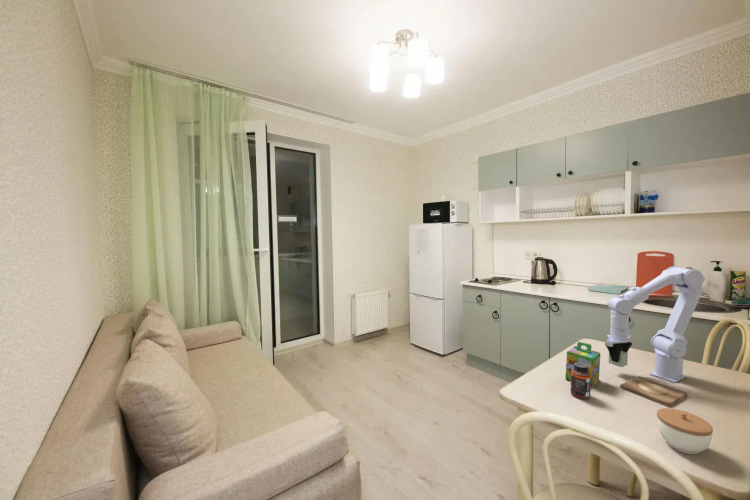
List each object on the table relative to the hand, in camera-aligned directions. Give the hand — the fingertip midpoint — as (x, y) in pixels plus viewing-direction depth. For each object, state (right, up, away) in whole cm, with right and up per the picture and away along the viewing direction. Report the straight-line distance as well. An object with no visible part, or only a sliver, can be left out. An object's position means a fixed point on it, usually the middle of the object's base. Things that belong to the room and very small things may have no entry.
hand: (618, 360), depth 124 cm
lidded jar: (-14, -9, -40) cm, 44 cm away
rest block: (0, -2, 0) cm, 2 cm away
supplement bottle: (-25, -8, -14) cm, 30 cm away
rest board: (+2, -7, -13) cm, 15 cm away
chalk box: (-17, -7, -4) cm, 19 cm away
